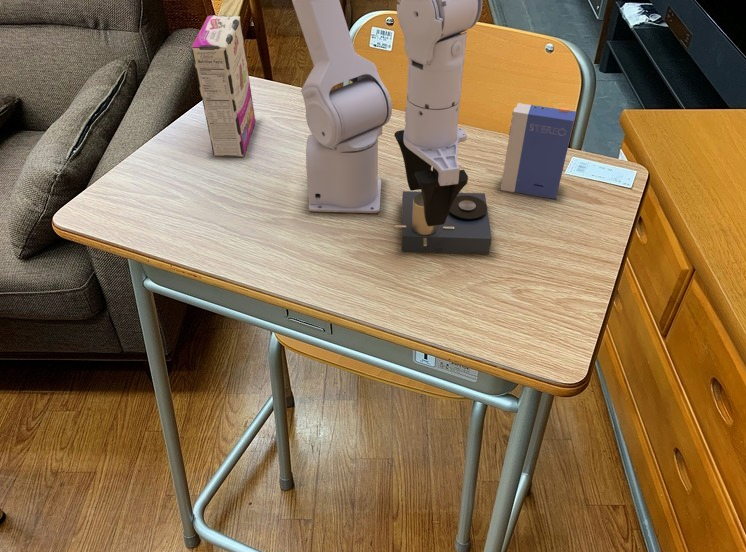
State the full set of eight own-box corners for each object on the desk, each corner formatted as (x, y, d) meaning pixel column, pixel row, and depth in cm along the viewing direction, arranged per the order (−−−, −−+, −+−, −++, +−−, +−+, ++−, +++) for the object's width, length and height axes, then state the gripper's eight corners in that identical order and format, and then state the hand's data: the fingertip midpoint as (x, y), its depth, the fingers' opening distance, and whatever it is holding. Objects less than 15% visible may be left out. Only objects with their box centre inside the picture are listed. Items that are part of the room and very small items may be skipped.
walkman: (558, 189, 93) (576, 108, 85) (555, 199, 92) (574, 118, 83) (503, 179, 95) (516, 99, 87) (499, 189, 93) (512, 109, 85)
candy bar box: (225, 121, 106) (206, 14, 94) (256, 122, 106) (241, 14, 94) (211, 157, 98) (189, 45, 86) (244, 158, 98) (227, 46, 86)
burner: (447, 220, 83) (447, 216, 83) (445, 197, 87) (446, 193, 87) (488, 222, 83) (489, 217, 83) (485, 198, 87) (485, 194, 87)
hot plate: (393, 261, 81) (394, 244, 80) (395, 206, 90) (395, 189, 88) (490, 264, 81) (493, 246, 80) (482, 208, 90) (485, 192, 88)
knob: (411, 234, 81) (413, 205, 78) (411, 219, 83) (413, 190, 80) (437, 235, 81) (440, 206, 78) (437, 220, 83) (439, 191, 80)
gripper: (492, 125, 66) (477, 236, 76) (448, 66, 76) (440, 170, 86) (425, 133, 65) (418, 244, 74) (389, 71, 75) (387, 176, 84)
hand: (426, 205), depth 80 cm, fingers open, 7 cm apart
